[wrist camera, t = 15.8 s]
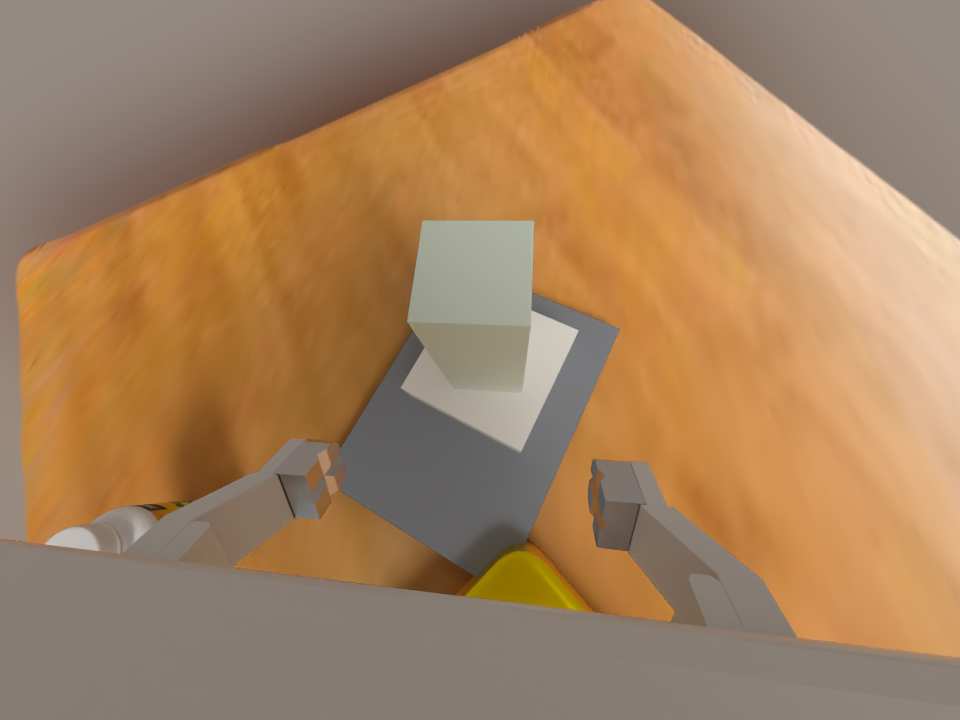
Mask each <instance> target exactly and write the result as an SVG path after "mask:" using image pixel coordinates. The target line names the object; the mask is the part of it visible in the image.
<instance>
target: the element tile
mask: <svg viewBox="0 0 960 720" xmlns="http://www.w3.org/2000/svg"><path fill="white" fill-rule="evenodd" d="M456 596H464V597H473V598H481V599H489V600H497V601H505V602H513V603H522V604H530V605H538V606H546V607H554V608H562V609H570V610H578V611H587V612H594V611H593V610H592V609H591V607H590V606H589V605H588V604H587V603H586V602H585V601H584V599H583V598H582V597H581V596H580V595H579V594H578V593H577V591H576V590H575V589H574V588H573V587H572V586H571V585H570V583H569V582H568V581H567V580H566V579H565V578H564V577H563V575H562V574H561V573H560V572H559V571H558V570H557V569H556V567H555V566H554V565H553V564H552V563H551V562H550V561H549V559H548V558H547V557H546V556H545V555H544V554H543V553H542V551H541V550H540V549H538V548H537V547H536V546H535V545H533V544H531V543H529V542H527V541H526V542H525V544H515V545H512V546H509V547H507V548H505V549H504V550H502V551H501V552H500V553H499V554H498V555H497V556H496V557H495V558H494V559H493V560H492V561H491V562H490V563H489V564H488V565H487V566H486V567H485V568H484V569H483V570H482V571H481V572H480V573H479V574H478V576H477V577H475V576H473V577H472V578H471V579H470V580H469V581H468V582H467V583H466V584H465V585H464V586H463V587H462V588H461V589H460V590H459V591H458V592H457V594H456Z"/></svg>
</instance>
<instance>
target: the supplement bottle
mask: <svg viewBox="0 0 960 720" xmlns="http://www.w3.org/2000/svg"><path fill="white" fill-rule="evenodd" d="M194 501H196V500H192V501H181V502H170V503H159V504H147V505H136V506H127V507H120V508H116V509H113V510H111V511H108V512H106V513H104V514H102V515H101V516H99V517H98V518H96V519H95V520H94V521H92V522H91V523H89V524H86V525H80V526H73V527H69V528H66V529H63V530H62V531H60V532H58V533H56V534H55V535H54V536H52V537H51V538H50V539H49V540H48V541H47V542H46V543H45V544H46V545H54V546H62V547H70V548H78V549H86V550H94V551H102V552H111V553H119V554H122V553H123V552H124V551H125V550H127V549H128V548H129V547H130V546H131V545H132V544H133V543H134V542H136V541H137V540H138V539H139V538H140V537H141V536H142V535H143V534H145V533H146V532H147V531H148V530H149V529H150V528H151V527H152V526H154V525H155V524H156V523H157V522H158V521H159V520H160V519H161V518H163V517H164V516H165V515H167V514H169V513H171V512H173V511H175V510H177V509H179V508H181V507H184V506H186V505H188V504H190V503H192V502H194Z"/></svg>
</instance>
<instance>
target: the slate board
mask: <svg viewBox="0 0 960 720" xmlns="http://www.w3.org/2000/svg"><path fill="white" fill-rule="evenodd" d="M619 330H620V329H619V328H616V327H614V326H611V325H609V324H607V323H604V322H602V321H599V320H597V319H595V318H592V317H590V316H587V315H585V314H582V313H580V312H578V311H575V310H573V309H570V308H568V307H565V306H563V305H561V304H558V303H556V302H553V301H551V300H548V299H546V298H544V297H541V296H539V295H536V294H534V293H532V307H531V329H530V337H529V344H528V352H527V359H526V367H525V374H524V382H523V390H522V393H514V392H496V391H477V390H459V389H454V388H453V387H452V386H451V384H450V383H449V381H448V380H447V378H446V377H445V376H444V374H443V373H442V371H441V370H440V368H439V367H438V366H437V364H436V363H435V361H434V360H433V358H432V357H431V356H430V354H429V353H428V351H427V350H426V348H425V347H424V346H423V344H422V343H421V341H420V340H419V338H418V337H417V336H416V334H415V333H414V331H412V333H411V335H410V336H409V338H408V340H407V341H406V343H405V344H404V346H403V348H402V349H401V351H400V353H399V354H398V356H397V358H396V359H395V361H394V362H393V364H392V366H391V367H390V369H389V371H388V372H387V374H386V375H385V377H384V379H383V380H382V382H381V384H380V385H379V387H378V388H377V390H376V392H375V393H374V395H373V397H372V398H371V400H370V401H369V403H368V405H367V406H366V408H365V410H364V411H363V413H362V415H361V416H360V418H359V419H358V421H357V423H356V424H355V426H354V428H353V429H352V431H351V432H350V434H349V436H348V437H347V439H346V441H345V442H344V444H343V445H342V447H341V452H340V454H339V455H338V456H339V457H340V458H341V459H342V460H343V461H344V464H345V478H344V481H343V484H342V486H341V487H340V489H339V490H340V491H341V492H343V493H344V494H346V495H347V496H349V497H351V498H352V499H354V500H355V501H357V502H358V503H360V504H362V505H363V506H365V507H366V508H368V509H369V510H371V511H373V512H374V513H376V514H377V515H379V516H380V517H382V518H384V519H385V520H387V521H388V522H390V523H391V524H393V525H394V526H396V527H398V528H399V529H401V530H402V531H404V532H405V533H407V534H409V535H410V536H412V537H413V538H415V539H416V540H418V541H420V542H421V543H423V544H424V545H426V546H427V547H429V548H431V549H432V550H434V551H435V552H437V553H438V554H440V555H442V556H443V557H445V558H446V559H448V560H449V561H451V562H453V563H454V564H456V565H457V566H459V567H460V568H462V569H464V570H465V571H467V572H468V573H470V574H471V575H473V576H475V577H477V576H478V574H479V573H480V572H481V571H482V570H483V569H484V568H485V567H486V566H487V565H488V564H489V563H490V562H491V561H492V560H493V559H494V558H495V557H496V556H497V555H498V554H499V553H500V552H501V551H502V550H504V549H505V548H507V547H509V546H512V545H515V544H525V542H526V540H527V538H528V536H529V533H530V531H531V529H532V527H533V524H534V522H535V520H536V518H537V515H538V513H539V511H540V509H541V506H542V504H543V502H544V500H545V497H546V495H547V493H548V490H549V488H550V486H551V484H552V481H553V479H554V477H555V475H556V472H557V470H558V468H559V466H560V463H561V461H562V459H563V457H564V454H565V452H566V450H567V448H568V445H569V443H570V441H571V439H572V436H573V434H574V432H575V430H576V427H577V425H578V423H579V421H580V418H581V416H582V414H583V411H584V409H585V407H586V405H587V402H588V400H589V398H590V396H591V393H592V391H593V389H594V387H595V384H596V382H597V380H598V378H599V375H600V373H601V371H602V369H603V366H604V364H605V362H606V360H607V357H608V355H609V353H610V351H611V348H612V346H613V344H614V342H615V339H616V337H617V335H618V332H619Z"/></svg>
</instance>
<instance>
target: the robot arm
mask: <svg viewBox="0 0 960 720" xmlns="http://www.w3.org/2000/svg"><path fill="white" fill-rule="evenodd" d="M340 452H341V449H340V446H339V443H337V442H334V441H323V440H312V439H298V438H293V439H290V440H289V441H288V442H287V443H286V444H285V445H284V446H283V447H282V448H281V449H280V450H279V451H278V452H277V453H276V454H275V455H274V456H273V457H272V458H271V459H270V460H269V461H268V462H267V463H266V464H265V465H264V466H263V467H262V468H261V469H260V470H259V471H258V472H257V473H251V474H249V475H246V476H244V477H242V478H240V479H238V480H236V481H234V482H232V483H230V484H228V485H226V486H224V487H222V488H220V489H218V490H216V491H214V492H212V493H210V494H208V495H206V496H204V497H202V498H200V499H198V500H196V501H194V502H192V503H190V504H188V505H186V506H184V507H181V508H179V509H177V510H175V511H173V512H171V513H169V514H167V515H165V516H164V517H163V518H161V519H160V520H159V521H158V522H157V523H156V524H155V525H154V526H152V527H151V528H150V529H149V530H148V531H147V532H146V533H145V534H143V535H142V536H141V537H140V538H139V539H138V540H137V541H136V542H134V543H133V544H132V545H131V546H130V547H129V548H128V549H127V550H125V551H124V552H123V553H122V554H119V553H111V552H102V551H94V550H86V549H78V548H70V547H62V546H54V545H46V544H38V543H29V542H22V541H15V540H9V539H0V720H960V658H959V657H950V656H942V655H934V654H926V653H918V652H910V651H901V650H893V649H885V648H877V647H869V646H861V645H852V644H844V643H836V642H828V641H820V640H812V639H804V638H797V637H796V635H795V633H794V632H793V630H792V628H791V627H790V625H789V623H788V622H787V620H786V618H785V617H784V615H783V613H782V612H781V610H780V608H779V606H778V605H777V603H776V601H775V600H774V598H773V596H772V595H771V593H770V591H769V590H768V588H767V586H766V585H765V583H764V581H763V580H762V579H761V578H760V577H759V576H757V575H756V574H755V573H754V572H753V571H751V570H750V569H749V568H748V567H746V566H745V565H744V564H743V563H741V562H740V561H739V560H738V559H737V558H735V557H734V556H733V555H732V554H730V553H729V552H728V551H727V550H725V549H724V548H723V547H722V546H720V545H719V544H718V543H717V542H716V541H714V540H713V539H712V538H711V537H709V536H708V535H707V534H706V533H704V532H703V531H702V530H701V529H700V528H698V527H697V526H696V525H695V524H693V523H692V522H691V521H690V520H688V519H687V518H686V517H685V516H684V515H682V514H681V513H680V512H679V511H677V510H676V509H675V508H674V507H668V506H667V504H666V501H665V499H664V497H663V495H662V492H661V490H660V488H659V486H658V483H657V481H656V479H655V477H654V474H653V472H652V470H651V468H650V465H649V464H648V463H647V462H639V461H617V460H600V459H593V462H592V466H591V472H592V477H593V478H591V479H590V480H589V486H588V502H589V509H590V513H591V514H592V515H593V516H594V521H593V531H594V536H595V541H596V546H597V547H599V548H607V549H614V550H622V551H629V552H628V553H629V554H630V556H631V557H632V558H633V559H634V561H635V562H636V563H637V564H638V566H639V567H640V568H641V569H642V571H643V572H644V573H645V574H646V576H647V577H648V578H649V579H650V581H651V582H652V583H653V584H654V586H655V587H656V588H657V589H658V591H659V592H660V593H661V595H662V596H663V597H664V598H665V600H666V601H667V602H668V603H669V605H670V606H671V607H672V608H673V610H674V611H675V613H674V615H673V618H672V620H671V622H667V621H659V620H651V619H643V618H635V617H627V616H619V615H611V614H603V613H595V612H587V611H578V610H570V609H562V608H554V607H546V606H538V605H530V604H522V603H513V602H505V601H497V600H489V599H481V598H473V597H464V596H456V595H448V594H440V593H432V592H424V591H416V590H408V589H400V588H392V587H384V586H376V585H368V584H360V583H352V582H344V581H336V580H328V579H320V578H312V577H304V576H296V575H288V574H280V573H272V572H264V571H255V570H247V569H239V568H235V567H234V565H235V564H237V563H238V562H239V561H240V560H242V559H243V558H244V557H246V556H247V555H248V554H250V553H251V552H252V551H254V550H255V549H256V548H257V547H259V546H260V545H261V544H263V543H264V542H265V541H267V540H268V539H269V538H271V537H272V536H273V535H275V534H276V533H277V532H278V531H280V530H281V529H282V528H284V527H285V526H286V525H288V524H289V523H290V522H292V521H293V520H294V518H305V519H319V520H320V519H321V517H322V516H323V514H324V513H325V511H326V509H327V508H328V506H329V505H330V503H331V497H330V496H331V495H333V494H334V493H336V492H337V491H339V489H340V487H341V486H342V484H343V481H344V478H345V464H344V461H343V460H342V459H341V458H340V457H339V456H338V455H339V454H340Z"/></svg>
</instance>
